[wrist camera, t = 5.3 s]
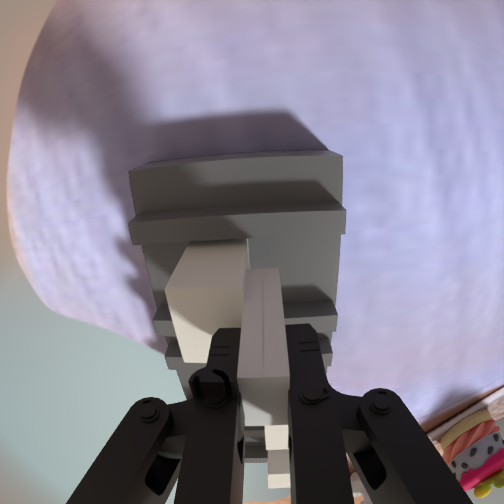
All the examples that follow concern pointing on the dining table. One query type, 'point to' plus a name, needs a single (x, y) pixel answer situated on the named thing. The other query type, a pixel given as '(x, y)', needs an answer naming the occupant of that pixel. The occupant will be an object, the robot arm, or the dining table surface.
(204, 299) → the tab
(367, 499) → the grey angular blocky piece
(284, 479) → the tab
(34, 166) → the dining table surface
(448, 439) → the cake
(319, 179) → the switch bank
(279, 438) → the tab middle
